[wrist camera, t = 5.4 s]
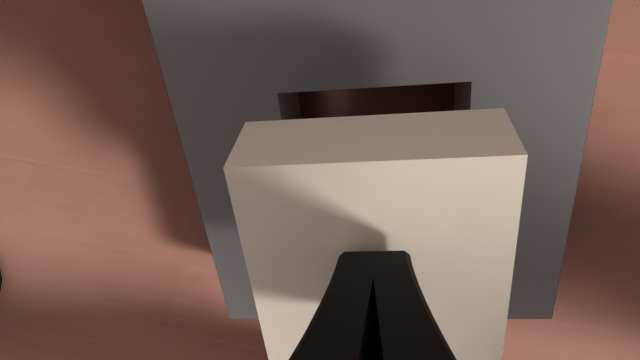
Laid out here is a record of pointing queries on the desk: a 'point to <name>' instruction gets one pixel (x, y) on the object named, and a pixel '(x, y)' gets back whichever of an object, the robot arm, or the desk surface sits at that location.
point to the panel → (384, 71)
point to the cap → (382, 215)
